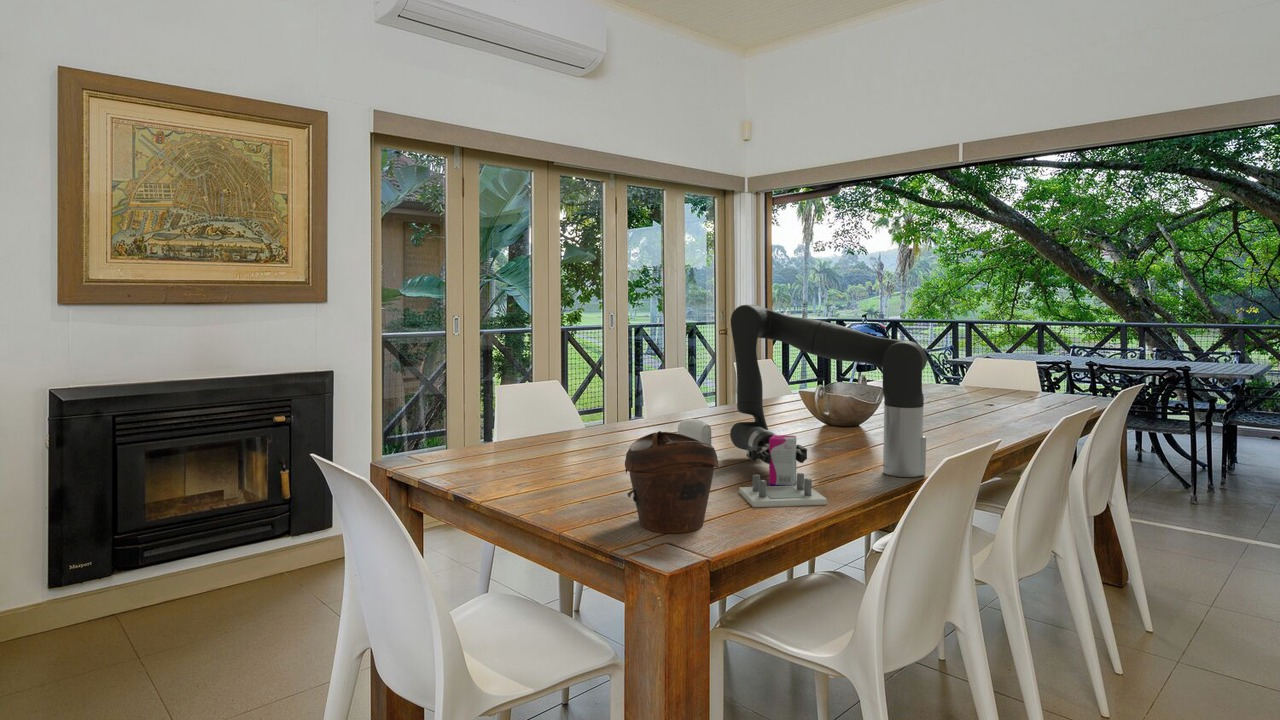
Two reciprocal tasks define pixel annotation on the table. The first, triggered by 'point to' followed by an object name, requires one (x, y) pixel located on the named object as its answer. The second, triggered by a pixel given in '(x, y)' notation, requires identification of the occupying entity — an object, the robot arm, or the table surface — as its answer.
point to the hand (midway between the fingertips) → (785, 459)
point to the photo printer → (695, 430)
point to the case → (670, 481)
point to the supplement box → (782, 460)
